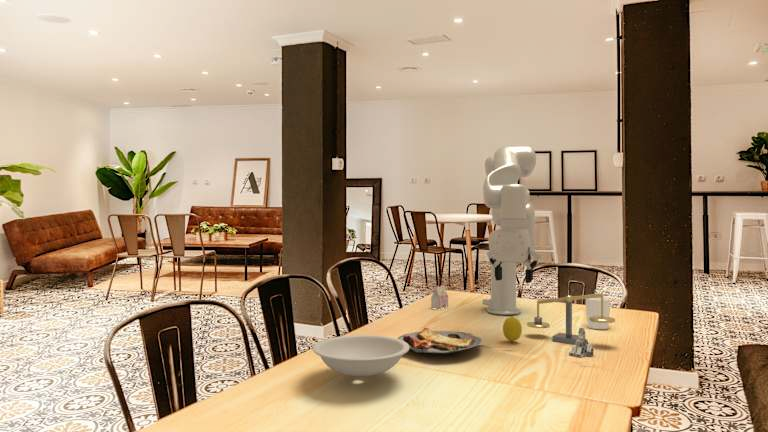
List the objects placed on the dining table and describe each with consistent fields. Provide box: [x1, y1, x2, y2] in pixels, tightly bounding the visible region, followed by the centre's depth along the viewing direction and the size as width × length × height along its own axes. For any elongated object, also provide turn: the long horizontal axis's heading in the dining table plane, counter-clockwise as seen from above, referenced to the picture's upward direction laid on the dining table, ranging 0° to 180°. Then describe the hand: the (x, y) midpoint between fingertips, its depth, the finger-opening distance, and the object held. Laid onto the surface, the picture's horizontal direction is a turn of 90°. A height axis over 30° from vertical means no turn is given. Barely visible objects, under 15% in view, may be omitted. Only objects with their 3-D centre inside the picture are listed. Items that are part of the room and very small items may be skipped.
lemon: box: [502, 315, 523, 343], centre depth 161 cm, size 6×6×8 cm
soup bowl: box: [312, 334, 410, 377], centre depth 132 cm, size 24×24×7 cm
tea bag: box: [430, 285, 449, 310], centre depth 210 cm, size 4×7×10 cm, turn 143°
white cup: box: [584, 296, 611, 330], centre depth 181 cm, size 8×8×10 cm
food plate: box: [397, 327, 483, 355], centre depth 157 cm, size 25×23×4 cm
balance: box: [526, 292, 616, 345], centre depth 162 cm, size 27×7×16 cm, turn 51°
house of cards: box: [568, 327, 595, 359], centre depth 145 cm, size 9×9×8 cm
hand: (513, 281), depth 160 cm, fingers open, 9 cm apart
